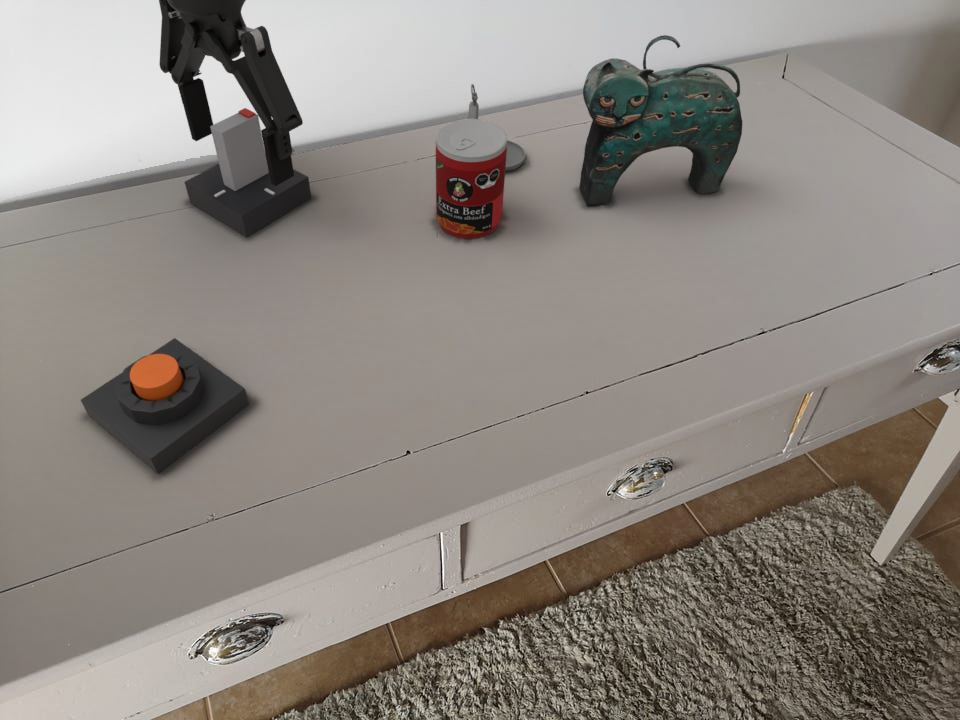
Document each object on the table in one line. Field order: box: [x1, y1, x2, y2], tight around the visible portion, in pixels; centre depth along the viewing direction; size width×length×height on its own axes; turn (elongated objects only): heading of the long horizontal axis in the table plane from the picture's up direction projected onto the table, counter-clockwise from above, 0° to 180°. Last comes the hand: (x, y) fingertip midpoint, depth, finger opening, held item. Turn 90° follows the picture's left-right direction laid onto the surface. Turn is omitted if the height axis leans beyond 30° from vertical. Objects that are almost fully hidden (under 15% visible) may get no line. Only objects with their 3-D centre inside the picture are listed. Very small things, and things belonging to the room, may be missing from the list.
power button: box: [130, 354, 183, 401], centre depth 67 cm, size 4×4×2 cm
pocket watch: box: [467, 83, 526, 172], centre depth 97 cm, size 8×8×10 cm
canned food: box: [435, 118, 508, 239], centre depth 88 cm, size 8×8×11 cm
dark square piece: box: [80, 337, 250, 475], centre depth 69 cm, size 10×10×4 cm
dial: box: [210, 107, 269, 191], centre depth 87 cm, size 5×2×8 cm, turn 142°
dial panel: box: [184, 154, 312, 238], centre depth 91 cm, size 10×10×3 cm
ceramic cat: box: [578, 34, 743, 207], centre depth 90 cm, size 20×6×20 cm, turn 101°
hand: (242, 157), depth 88 cm, fingers open, 13 cm apart
